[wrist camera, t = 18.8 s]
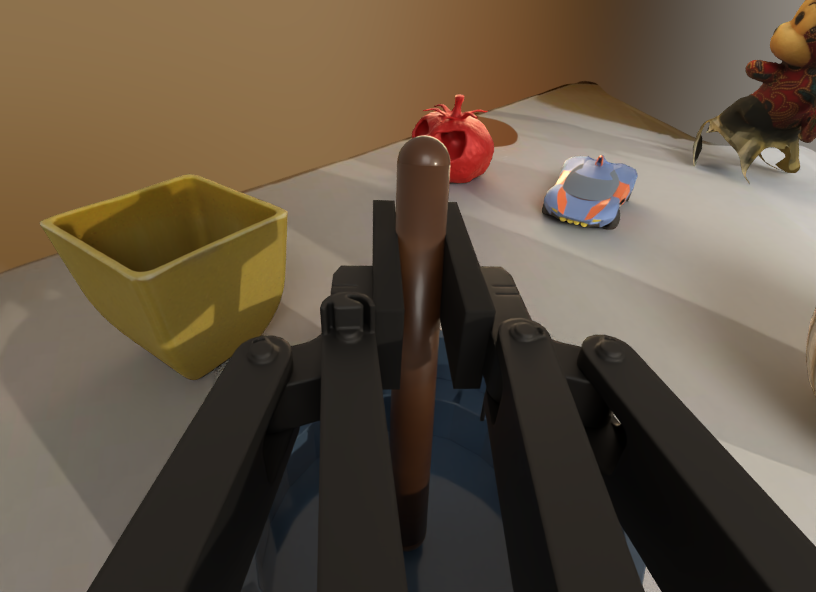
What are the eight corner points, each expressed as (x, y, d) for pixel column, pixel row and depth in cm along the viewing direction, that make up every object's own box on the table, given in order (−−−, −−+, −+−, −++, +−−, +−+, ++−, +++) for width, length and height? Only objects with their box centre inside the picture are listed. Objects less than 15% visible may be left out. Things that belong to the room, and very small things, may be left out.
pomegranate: (449, 156, 63) (457, 82, 57) (505, 179, 56) (520, 99, 51) (392, 168, 57) (395, 88, 52) (446, 196, 51) (456, 108, 46)
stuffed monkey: (773, 147, 70) (923, -54, 51) (816, 217, 59) (1027, -6, 40) (672, 132, 71) (782, -70, 52) (696, 198, 60) (845, -27, 41)
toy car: (528, 222, 47) (540, 171, 44) (563, 179, 58) (575, 136, 55) (611, 244, 44) (629, 191, 41) (631, 194, 55) (647, 150, 52)
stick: (387, 561, 18) (399, 134, 13) (386, 528, 20) (396, 134, 14) (427, 560, 18) (456, 137, 13) (423, 527, 20) (447, 135, 14)
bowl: (142, 841, 13) (60, 800, 9) (256, 410, 25) (240, 324, 22) (666, 797, 14) (766, 746, 10) (528, 408, 26) (553, 326, 23)
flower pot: (183, 422, 24) (135, 279, 19) (94, 353, 28) (33, 218, 23) (303, 336, 30) (291, 210, 25) (217, 289, 34) (191, 171, 29)
